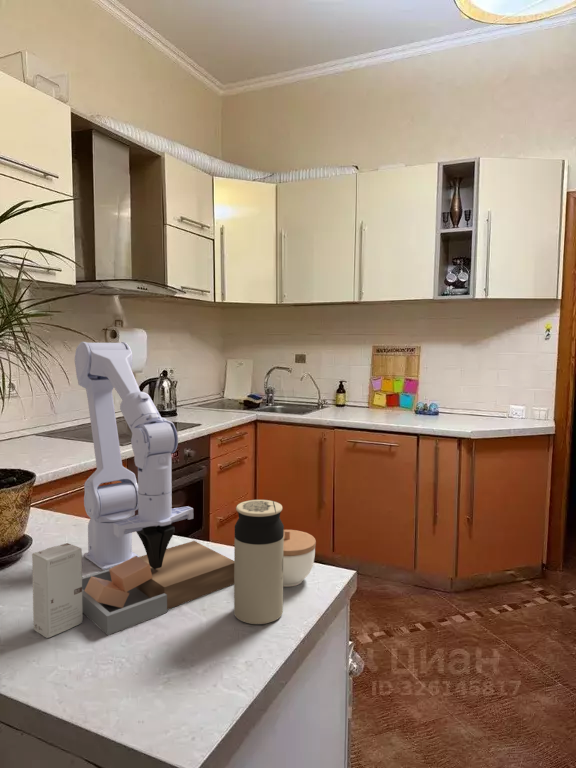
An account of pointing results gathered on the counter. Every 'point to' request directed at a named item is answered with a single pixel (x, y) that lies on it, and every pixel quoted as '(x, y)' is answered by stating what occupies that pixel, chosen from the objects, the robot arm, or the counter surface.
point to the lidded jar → (297, 556)
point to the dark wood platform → (188, 574)
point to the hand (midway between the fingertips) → (155, 566)
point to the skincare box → (57, 589)
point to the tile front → (106, 592)
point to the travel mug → (258, 562)
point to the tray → (121, 618)
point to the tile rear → (130, 573)
